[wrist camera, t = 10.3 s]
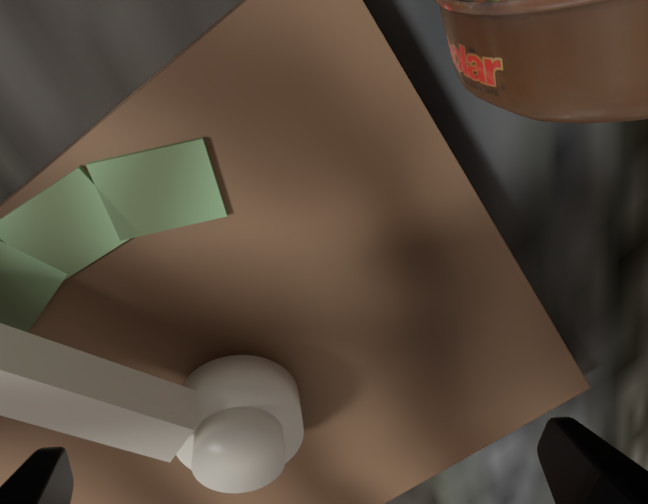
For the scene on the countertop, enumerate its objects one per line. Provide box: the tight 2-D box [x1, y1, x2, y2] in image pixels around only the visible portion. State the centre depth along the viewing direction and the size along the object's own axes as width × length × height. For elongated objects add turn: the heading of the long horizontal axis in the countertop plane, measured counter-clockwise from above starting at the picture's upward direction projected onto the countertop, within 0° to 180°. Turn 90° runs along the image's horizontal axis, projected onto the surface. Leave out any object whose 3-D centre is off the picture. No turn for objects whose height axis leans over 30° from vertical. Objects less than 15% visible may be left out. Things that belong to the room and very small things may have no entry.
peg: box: [0, 323, 304, 493], centre depth 16 cm, size 12×4×3 cm, turn 56°
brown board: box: [0, 0, 591, 504], centre depth 19 cm, size 22×20×1 cm
